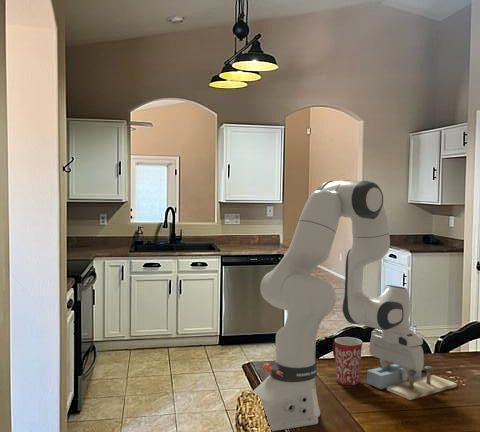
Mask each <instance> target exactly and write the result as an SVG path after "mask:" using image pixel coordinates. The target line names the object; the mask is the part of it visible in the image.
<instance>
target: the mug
mask: <svg viewBox="0 0 480 432" xmlns="http://www.w3.org/2000/svg"><path fill="white" fill-rule="evenodd" d="M363 344H364V343H363V341H362V340H361V339H359V338H357V337H350V336H344V337H343V336H342V337H336V338H335V339H334V342H333V343H332V355H333V357H334V363H335V374H336V375H335V378H336V379H335V380H336V382H337V383H339V384H340V385H345V386H355V385H358V384H359V382H360V371H361V361H362V351H363V350H362V347H363Z"/></svg>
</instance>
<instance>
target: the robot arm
mask: <svg viewBox="0 0 480 432" xmlns="http://www.w3.org/2000/svg"><path fill="white" fill-rule="evenodd" d="M342 217H343V218H350V219H351V232H352V233H351V234H352V244H351V248H350V249H349V250H348V251H347V254H346V258H345V271H344V272H345V276H344V296H343V297H344V298H343V302H342V313H343V316H344V318H345V320H346V322H348V323H349V324H352V325H359V326H365V327H368V328H374V329H373V330H372V331H371V333H370V334H371V337H370V340H369V348H368V349H369V350H368V352H369V354H370V356H372V357H374V358H378V359H379V363H380V365H381V367H384V366H388V363H387V362H389V363H391V364H397V365H399V366H402V367H403V370H404V371H403V373H402V374H400V379H402V380H407V374H408V373H407V371H408V370H413V371H418V370H421V369H422V368H423V369H424V364H425V363H424V362H425V361H424V358H425V357H424V350H423V347H422V345H423V342H424V339H423V338H422V337H421V336H419V335H418V334H417V333H415V332H414V331H413V330H412V329H411V325H410V320H409V319H410V314H411V297H410V292H409V290H408V289H407V288H406V287H404V286H397V285H392V284H388V285H385V286H384V288H383V292H382V293H381V294H380V295H378V296H377V297H376V296H375V297H374V296H370V295H366V294H365V293H364V292H363V276H364V268H365V267H366V266H367V265H369V264H373V263H375V262H378V261H379V260H381V259H383V258H384V257H385V256H386V255H387V254H388V253H389V250H390V246H391V237H390V229H389V223H388V217H387V213H386V210H385V206H384V194H383V192H382V190H381V187H380V186H379V185H378V184H377V183H375V182H372V181H368V180H361V181H360V180H354V179H353V180H351V179H341V180H329V181H325V182H323V183H322V184H320V185H319V187H317V189H316V190H315V191H313V192H312V193H311V194H310V195H309V197H308V198H307V200H306V202H305V204H304V206H303V209H302V210H301V213H300V216H299V219H298V222H297V225H296V227H295V231H294V233H293V235H292V239H291V242H290V244H289V246H288V249H287V250H286V252H285V254H284V255H283V257H282V259H280V261H279V263H277V265H276V266H275V267H273V269H272V270H270V271H268V272H267V273H266V274H265V275H264V276H263V277H262V279H261V281H260V285H259V289H260V295H261V297H262V298H263V299H264V300H265V301H266V302H267V303H268V304H270V305H271V306H272V307H274V308H277V309H281V310H285V311H286V313H287V316H286V319H285V323H284V325H283V326H282V327H280V328H279V329H278V330H277V332H276V334H275V359H274V360H273V363H272V364H269V363H267V362H265V363H263V365H262V369H263V371H266V372H267V373H269V375H268V376H267V377H266V378H265V379H264V380H263V381H262V382H261V383H260V384H259V385H258V386H257V387H255V389H254V390H252V392H255V393H256V394H257V395H258V396H259V398H260V400H261V402H262V405H263V408H264V411H265V414H266V416H267V420H268V423H269V425H270V428H271V430H272V431H271V432H277V431H282V430H288V429H295V428H301V427H307V426H314V425H317V424H319V417H320V416H321V409H320V406H319V401H318V396H317V387H316V384H317V382H316V378H317V375H318V374H317V370H318V369H317V362H316V350H317V349H316V348H317V347H316V346H317V345H316V344H317V335H318V330H319V327H320V325H321V323H322V321H323V320H324V318H326V316H328V315H329V314H330V313H332V311H333V309H334V307H335V305H336V299H337V297H336V296H337V295H336V291H335V288H334V286H333V285H332V284H331V283H330V282H328V281H326V280H324V279H322V278H320V277H318V276H315V275H312V274H313V272H314V271H315V269H316V268H317V267H318V266H319V265H321V264H323V263H325V262H326V261H327V260H328V259H329V256H330V253H331V250H332V247H333V243H334V240H335V236H336V234H337V230H338V226H339V224H340V223H339V222H340V219H341V218H342ZM421 371H422V370H421Z"/></svg>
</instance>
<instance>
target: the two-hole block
mask: <svg viewBox="0 0 480 432" xmlns="http://www.w3.org/2000/svg"><path fill="white" fill-rule="evenodd" d="M403 371H404V370H403V367H402V366H399V365H397V364H394V363H392V364H389V365H388V364H387V366H384V367H382V366H381V367H380V366H379V367H377V368H376V367H375V368H372V369H367V371H366V384H368V385H370V386H373V387H375V388H377V389H380V390H383V389H387V387H389V386H393V385H396V384H400V383H404V382H408V381H410V374H407V380H402V379H400V374H402V373H403ZM419 378H422V370H418V371H416V375H414V380H416V379H419Z"/></svg>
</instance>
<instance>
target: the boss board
mask: <svg viewBox="0 0 480 432" xmlns="http://www.w3.org/2000/svg"><path fill="white" fill-rule="evenodd" d="M423 370H426V376H423V377H421V378H419V379H416V380H414V375H416V371H413V370H408V371H407V373H408V374H410V381H408V382H404V383H400V384H396V385H393V386H389V387H387V388H386V391H388V392H390V393H392V394H395V395H398V396H400V397H401V398H404V399H406V400H408V401H411V400H415V399H419V398H421V397H426V396H429V395H432V394H435V393H440V392H443V391H447V390H449V389H450V390H451V389H453V388H456V387H457V385H458V383H456V382H455V381H451V380H448V379H445V378H443V377H440V376H437V375H435V374H431V373H432V372H431V371H434V367H432V366H430V365H426V366H424V367H423Z"/></svg>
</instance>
